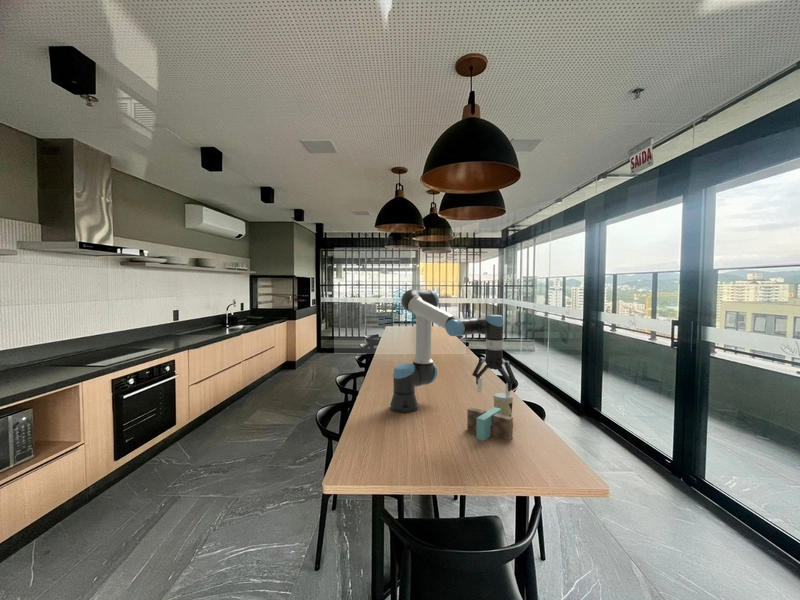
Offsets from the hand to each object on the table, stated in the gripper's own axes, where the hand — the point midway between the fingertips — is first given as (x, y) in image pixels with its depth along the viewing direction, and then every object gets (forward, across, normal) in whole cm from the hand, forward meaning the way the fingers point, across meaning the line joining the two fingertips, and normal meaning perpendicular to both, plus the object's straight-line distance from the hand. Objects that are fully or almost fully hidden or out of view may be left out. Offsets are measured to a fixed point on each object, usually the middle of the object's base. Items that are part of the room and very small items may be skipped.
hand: (493, 394), depth 156 cm
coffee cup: (+16, -2, +15) cm, 23 cm away
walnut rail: (+16, 0, -5) cm, 17 cm away
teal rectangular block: (+16, +1, -5) cm, 17 cm away
